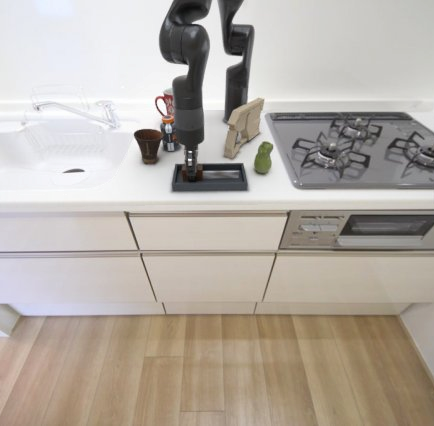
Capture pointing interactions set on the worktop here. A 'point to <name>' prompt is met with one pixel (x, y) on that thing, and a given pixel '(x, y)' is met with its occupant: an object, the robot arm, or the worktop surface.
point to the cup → (148, 144)
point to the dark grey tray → (211, 184)
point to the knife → (209, 174)
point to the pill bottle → (169, 133)
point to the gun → (243, 125)
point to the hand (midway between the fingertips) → (192, 177)
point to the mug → (166, 102)
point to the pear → (263, 157)
